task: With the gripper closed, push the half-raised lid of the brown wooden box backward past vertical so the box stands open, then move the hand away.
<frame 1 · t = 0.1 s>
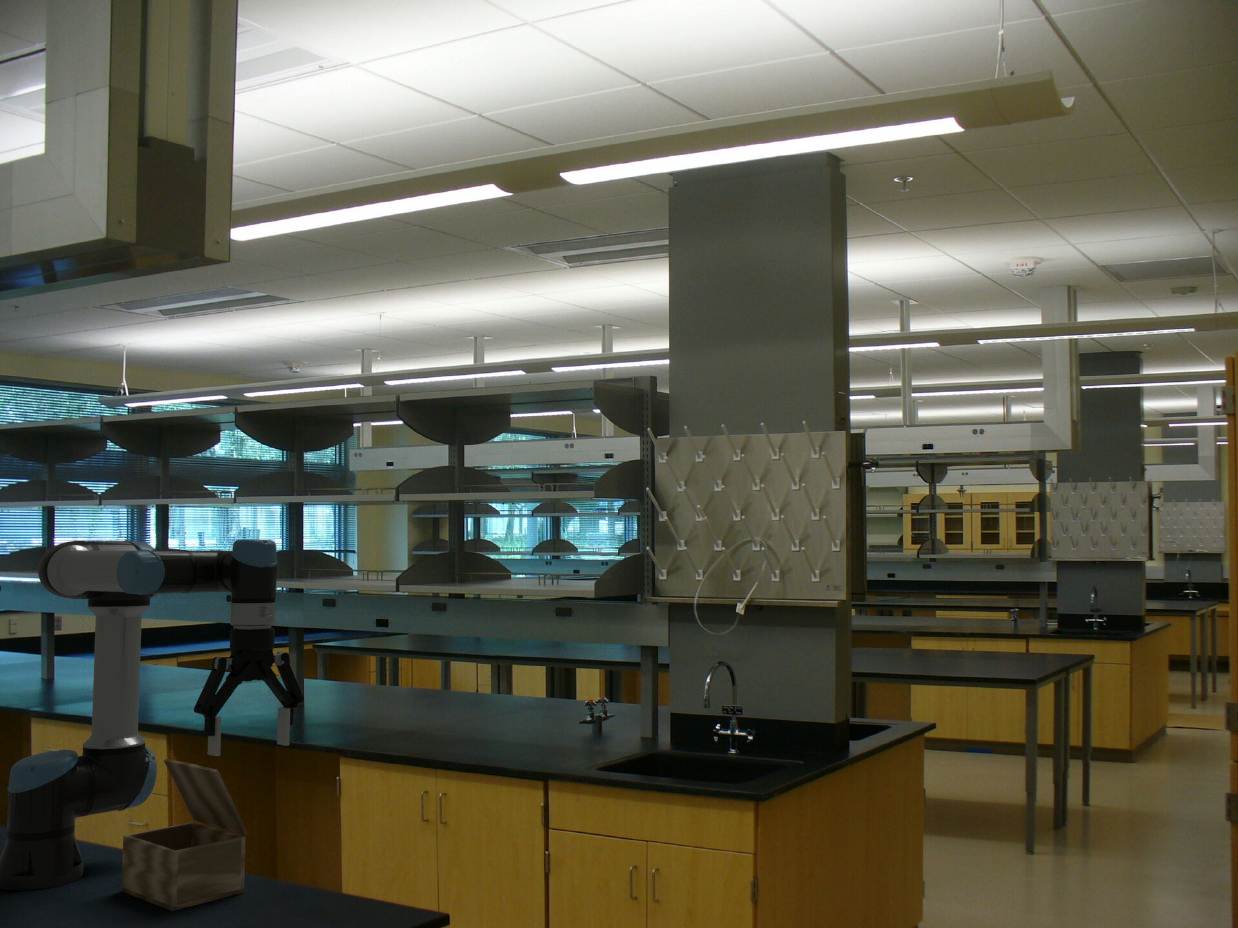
hand: (249, 749, 197), 28 cm above the table, tool pointing down, fingers open, 13 cm apart
carton lid: (205, 795, 211), point 17 cm above the table, hinge at 62.0°
brown wooden box: (182, 891, 207), on the table
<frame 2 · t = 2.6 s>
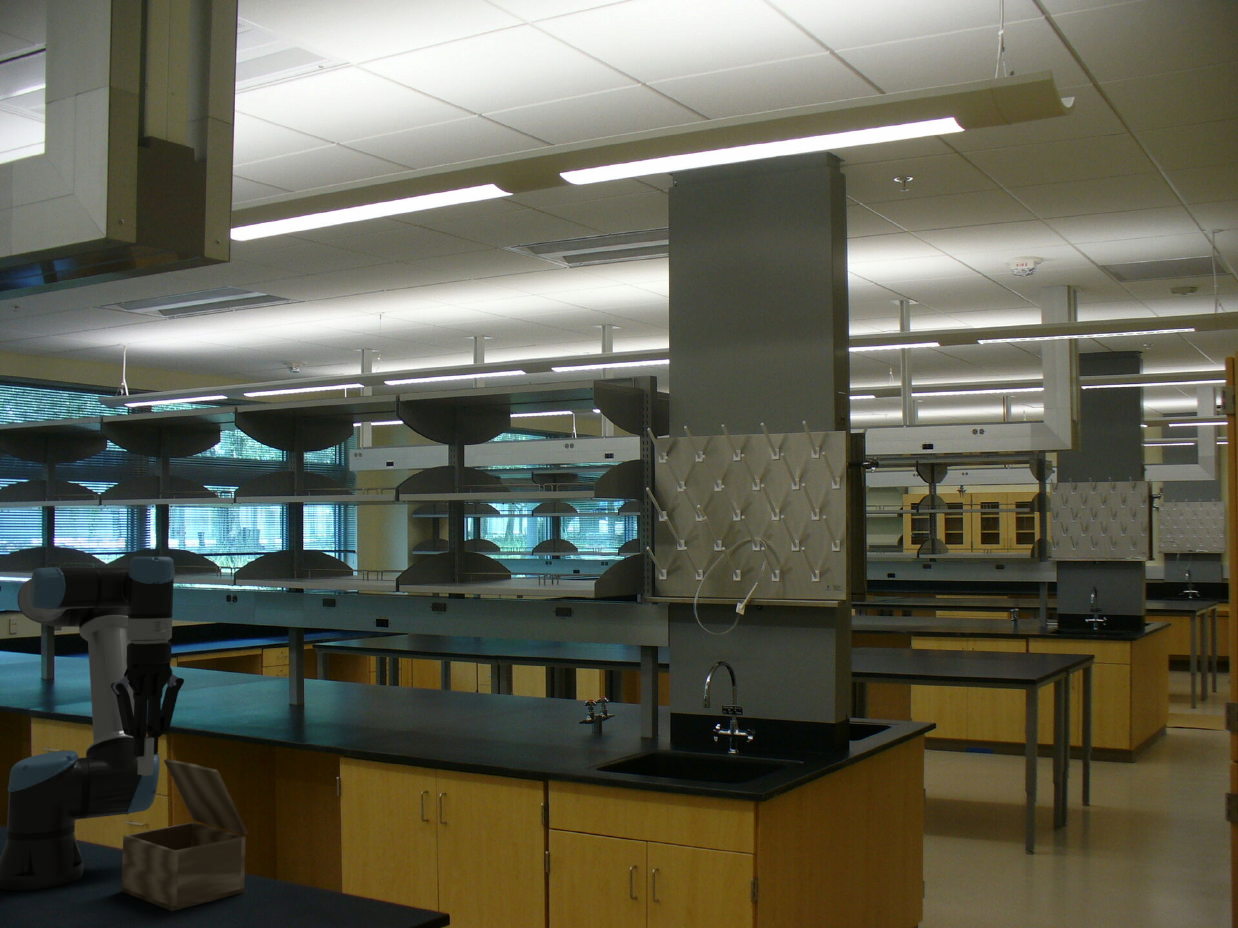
hand: (145, 773, 202), 22 cm above the table, tool pointing down, fingers closed
nothing on the table moved.
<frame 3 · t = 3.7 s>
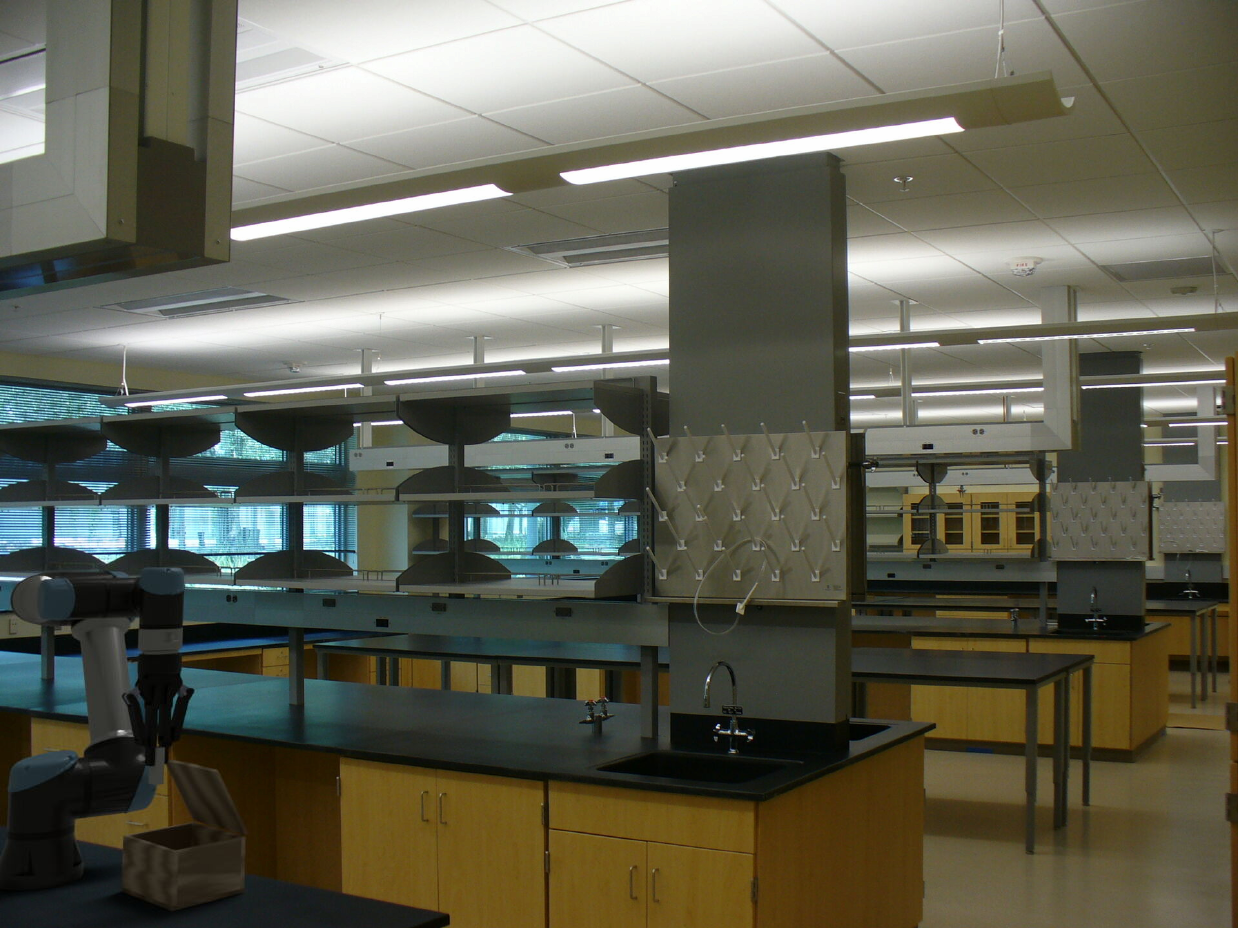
hand: (156, 783, 204), 20 cm above the table, tool pointing down, fingers closed
nothing on the table moved.
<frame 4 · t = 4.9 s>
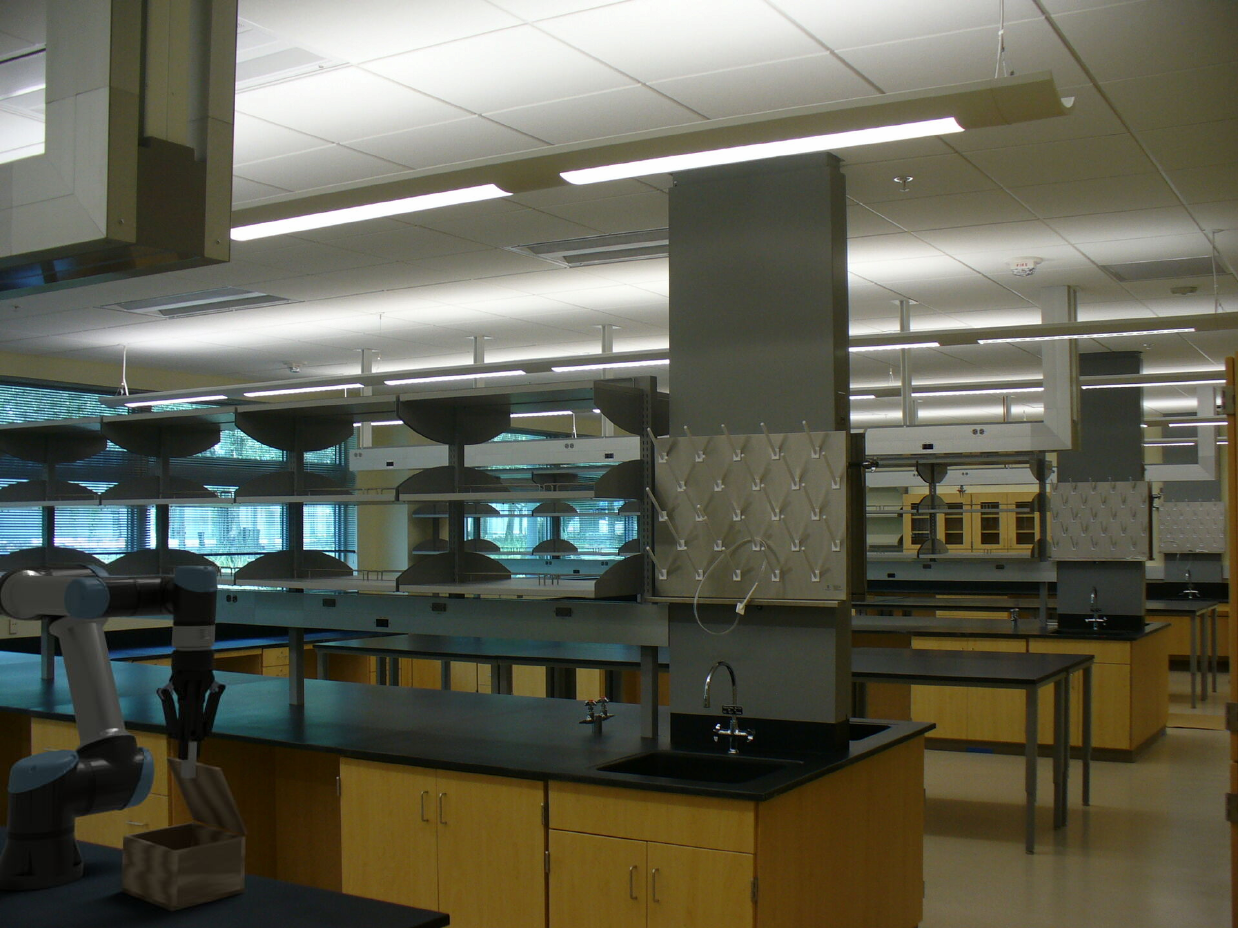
hand: (188, 776, 209), 21 cm above the table, tool pointing down, fingers closed
carton lid: (206, 794, 211), point 17 cm above the table, hinge at 64.6°, touching gripper
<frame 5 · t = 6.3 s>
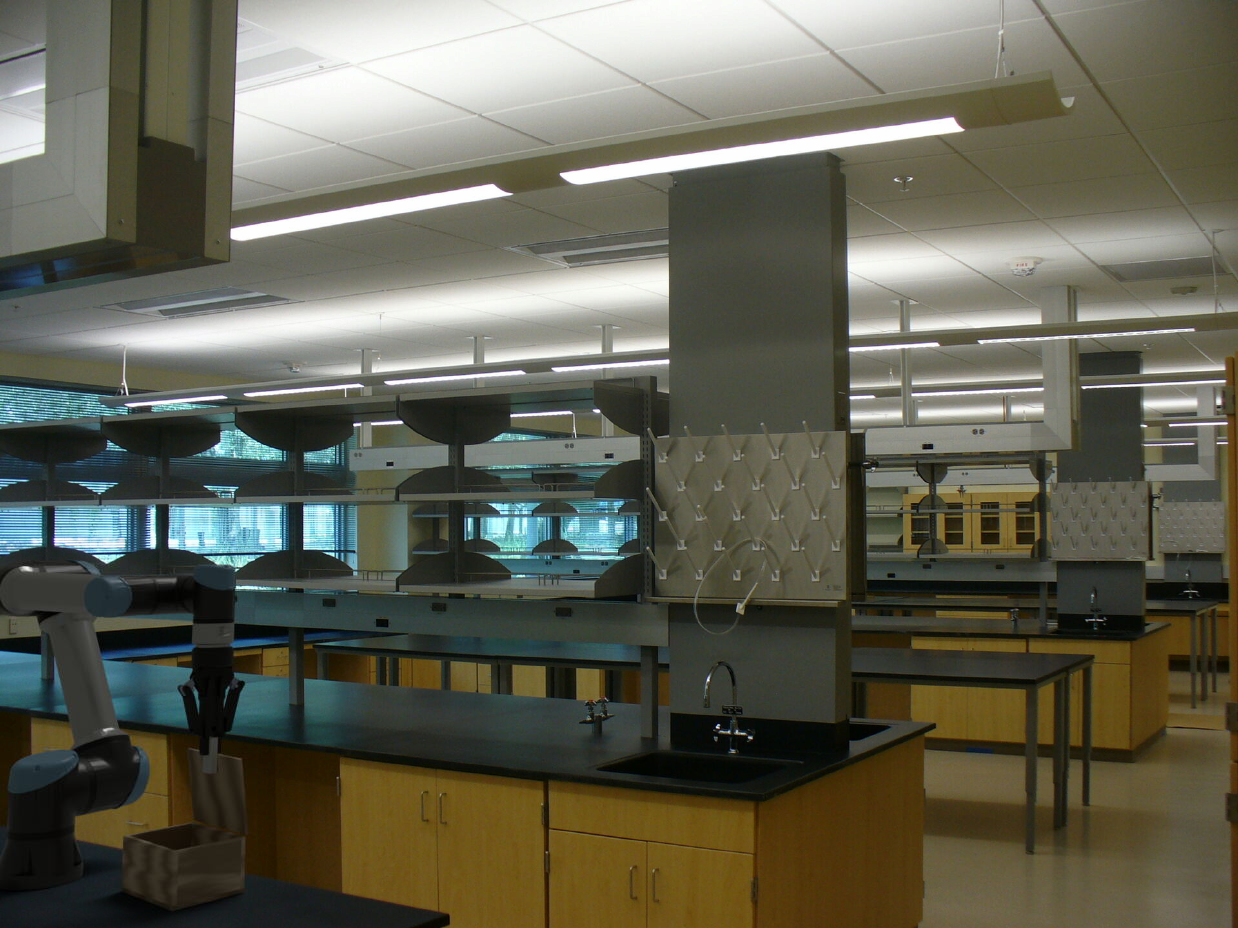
hand: (209, 772, 212), 21 cm above the table, tool pointing down, fingers closed
carton lid: (217, 790, 213), point 17 cm above the table, hinge at 82.7°, touching gripper
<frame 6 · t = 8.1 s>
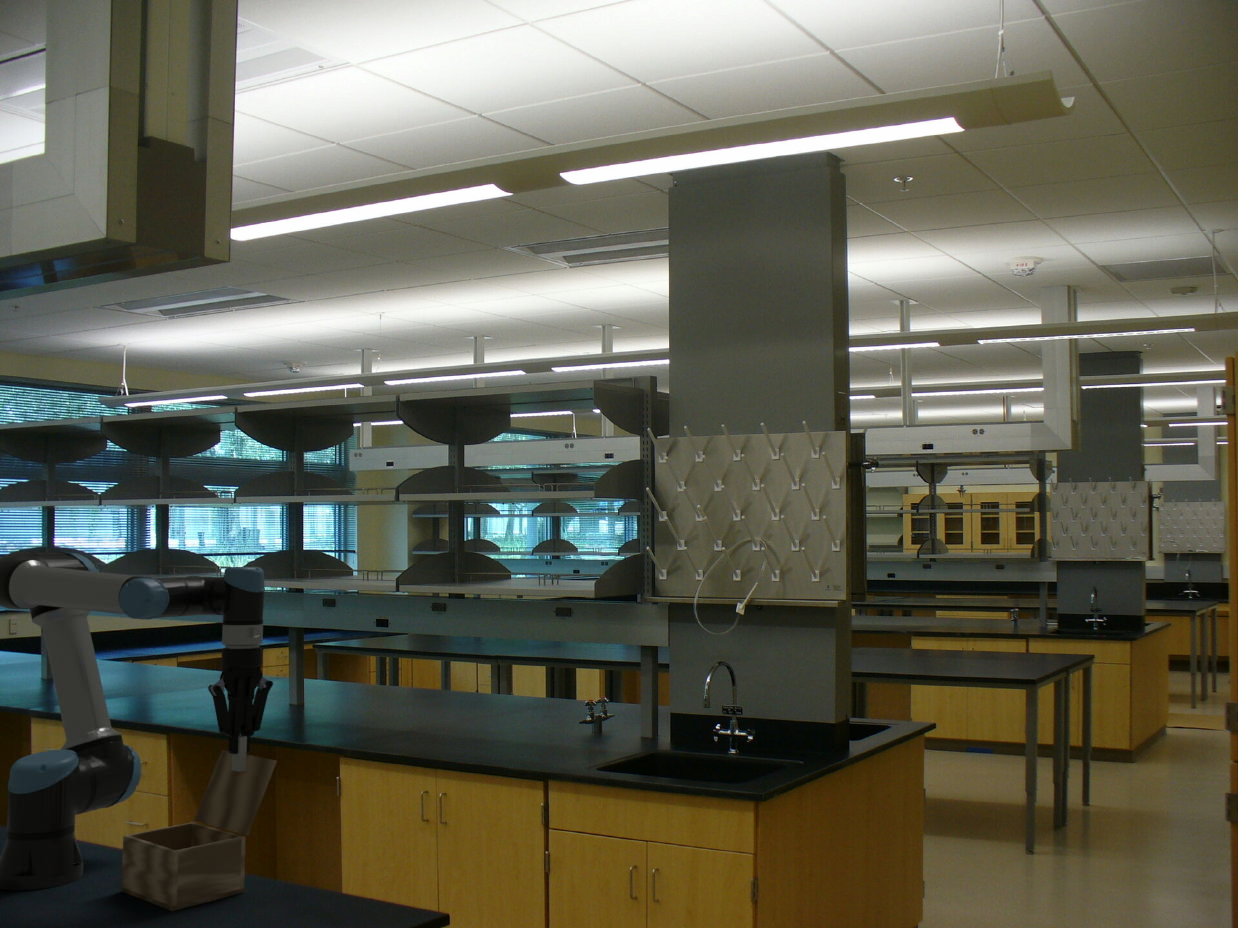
hand: (238, 770, 217), 20 cm above the table, tool pointing down, fingers closed
carton lid: (234, 790, 216), point 17 cm above the table, hinge at 114.1°, touching gripper
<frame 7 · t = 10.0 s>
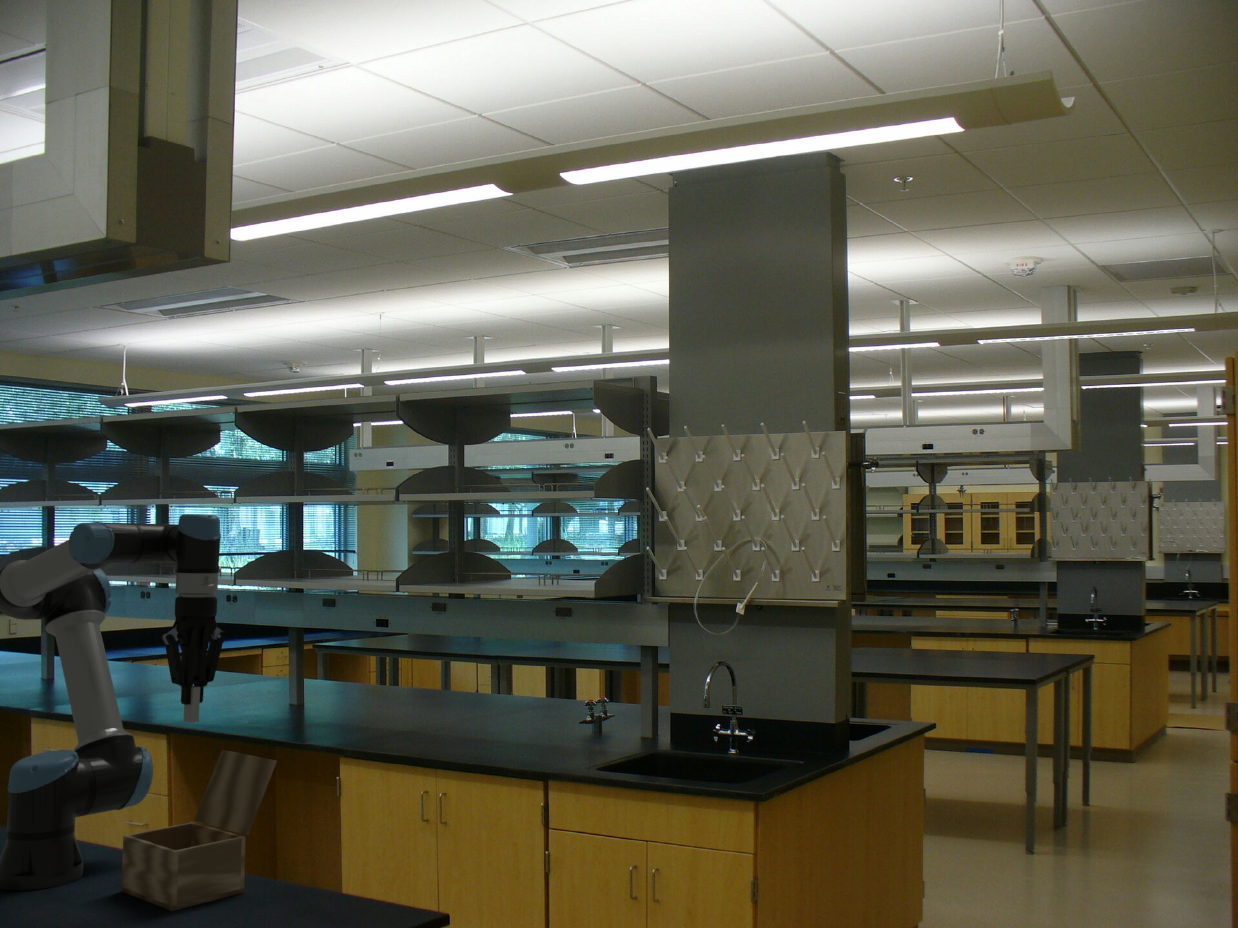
hand: (191, 721, 212), 30 cm above the table, tool pointing down, fingers closed
carton lid: (234, 790, 216), point 17 cm above the table, hinge at 114.2°
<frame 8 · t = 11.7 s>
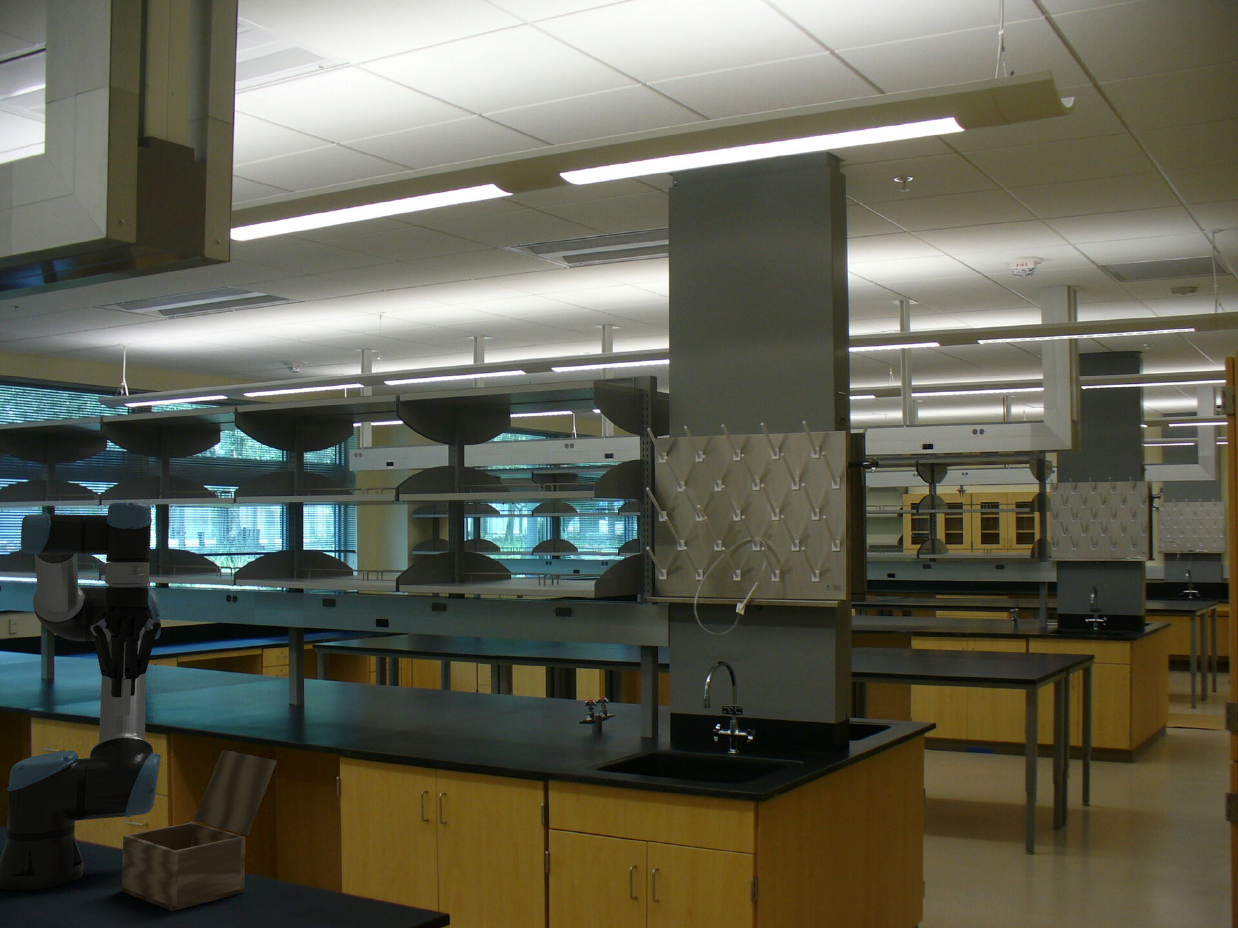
hand: (122, 714, 207), 32 cm above the table, tool pointing down, fingers closed
nothing on the table moved.
at the end: carton lid at +114° (first picture: +62°) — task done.
